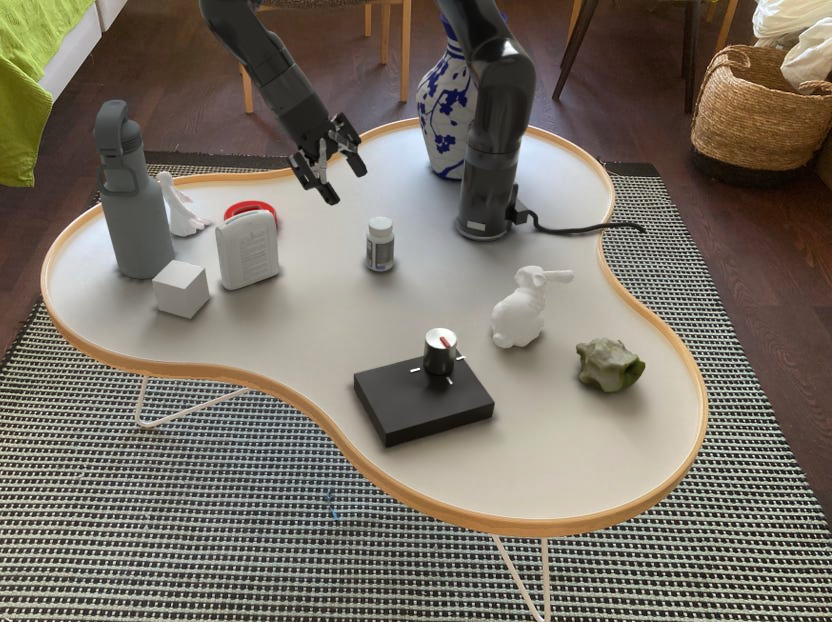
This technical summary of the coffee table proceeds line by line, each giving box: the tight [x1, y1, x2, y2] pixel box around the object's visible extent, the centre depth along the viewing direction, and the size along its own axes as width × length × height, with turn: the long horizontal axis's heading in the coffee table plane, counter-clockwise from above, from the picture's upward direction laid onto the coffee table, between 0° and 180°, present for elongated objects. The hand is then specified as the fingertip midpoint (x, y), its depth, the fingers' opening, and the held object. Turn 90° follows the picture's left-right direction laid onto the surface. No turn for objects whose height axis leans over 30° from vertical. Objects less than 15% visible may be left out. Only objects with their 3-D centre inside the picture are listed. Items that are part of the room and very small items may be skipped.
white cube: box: [151, 259, 211, 320], centre depth 118 cm, size 6×6×6 cm
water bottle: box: [92, 99, 176, 280], centre depth 118 cm, size 10×10×28 cm
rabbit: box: [491, 265, 575, 349], centre depth 110 cm, size 12×9×12 cm
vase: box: [415, 10, 508, 182], centre depth 142 cm, size 19×19×30 cm
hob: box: [353, 348, 496, 449], centre depth 103 cm, size 16×14×3 cm
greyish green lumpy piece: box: [575, 337, 646, 393], centre depth 105 cm, size 9×9×8 cm
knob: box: [422, 327, 458, 375], centre depth 103 cm, size 4×4×5 cm
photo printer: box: [214, 210, 280, 291], centre depth 121 cm, size 10×4×12 cm, turn 123°
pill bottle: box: [365, 216, 395, 272], centre depth 125 cm, size 5×5×8 cm
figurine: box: [155, 170, 210, 237], centre depth 132 cm, size 8×8×12 cm
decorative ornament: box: [223, 200, 278, 232], centre depth 135 cm, size 10×10×3 cm
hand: (349, 189), depth 120 cm, fingers open, 8 cm apart
